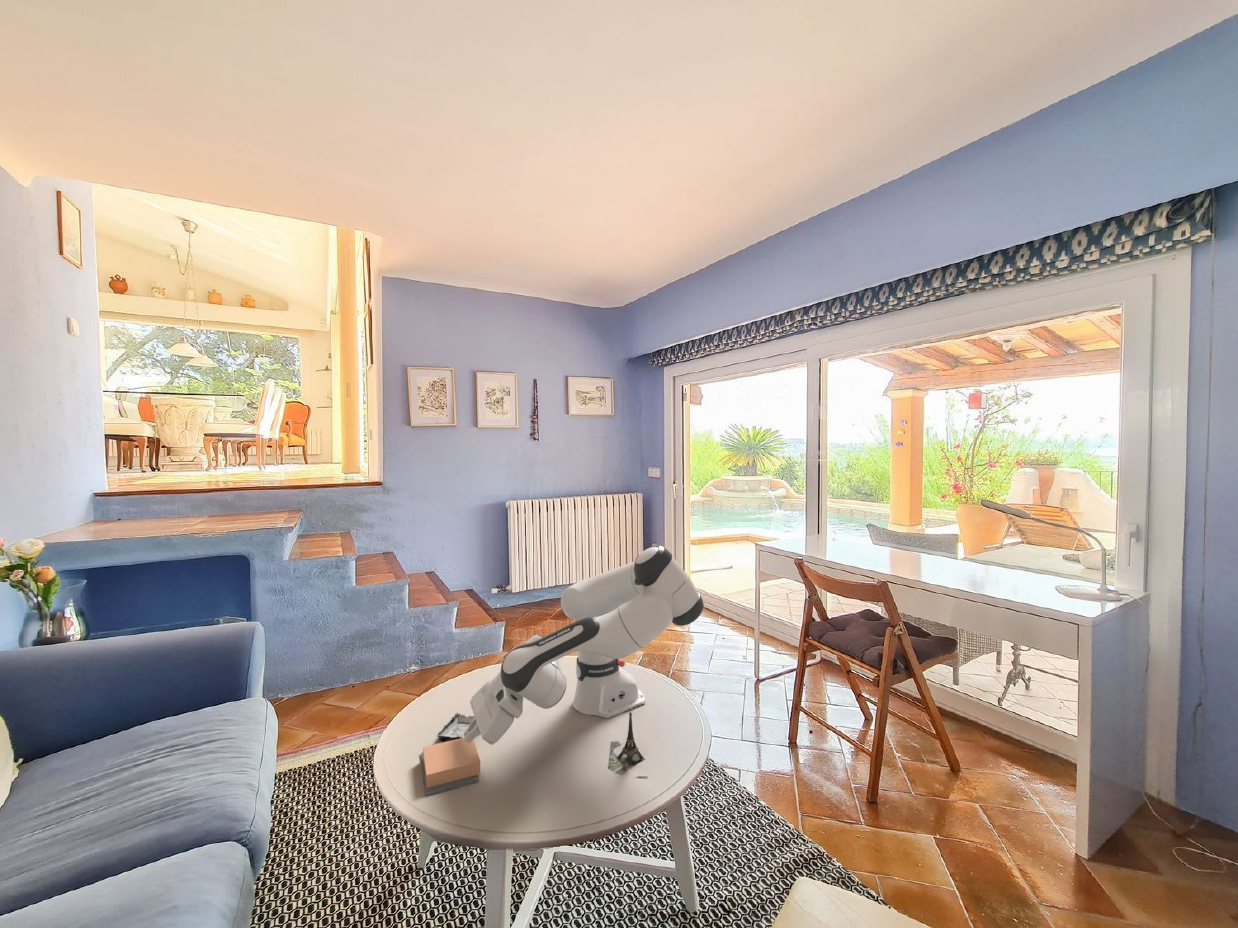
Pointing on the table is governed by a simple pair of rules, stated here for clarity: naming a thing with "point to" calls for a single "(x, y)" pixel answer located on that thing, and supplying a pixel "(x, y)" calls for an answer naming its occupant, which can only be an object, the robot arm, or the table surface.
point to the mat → (448, 785)
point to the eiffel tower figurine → (625, 754)
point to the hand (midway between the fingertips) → (466, 738)
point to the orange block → (450, 761)
